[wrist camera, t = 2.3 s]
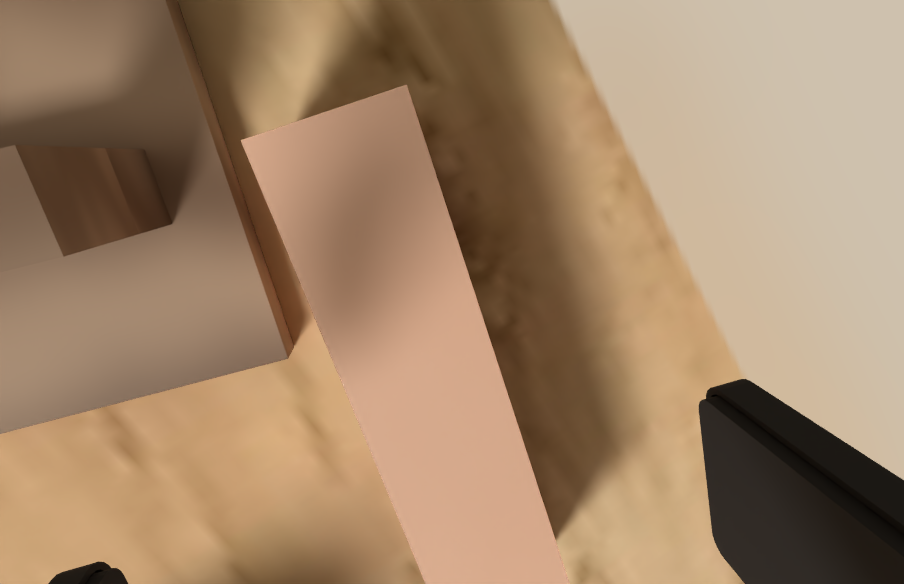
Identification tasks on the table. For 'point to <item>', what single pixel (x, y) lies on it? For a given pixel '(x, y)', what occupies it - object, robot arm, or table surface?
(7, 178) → the rack
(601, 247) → the table surface
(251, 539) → the table surface
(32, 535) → the table surface
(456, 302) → the pink rectangular block
